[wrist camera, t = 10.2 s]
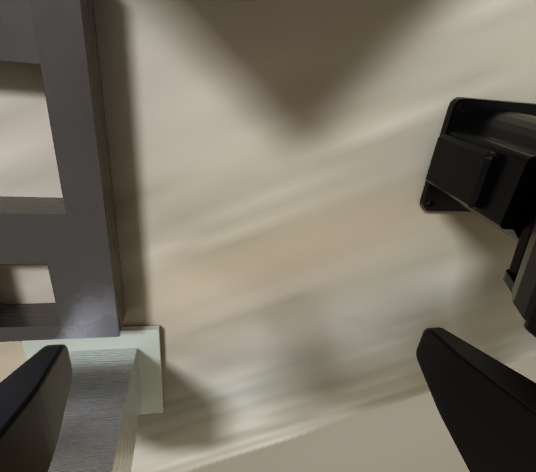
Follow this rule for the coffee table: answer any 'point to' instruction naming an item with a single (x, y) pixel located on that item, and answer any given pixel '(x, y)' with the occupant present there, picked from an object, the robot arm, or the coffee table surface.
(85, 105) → the slotted plate
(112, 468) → the brushed metal block
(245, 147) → the coffee table surface
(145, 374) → the mat
